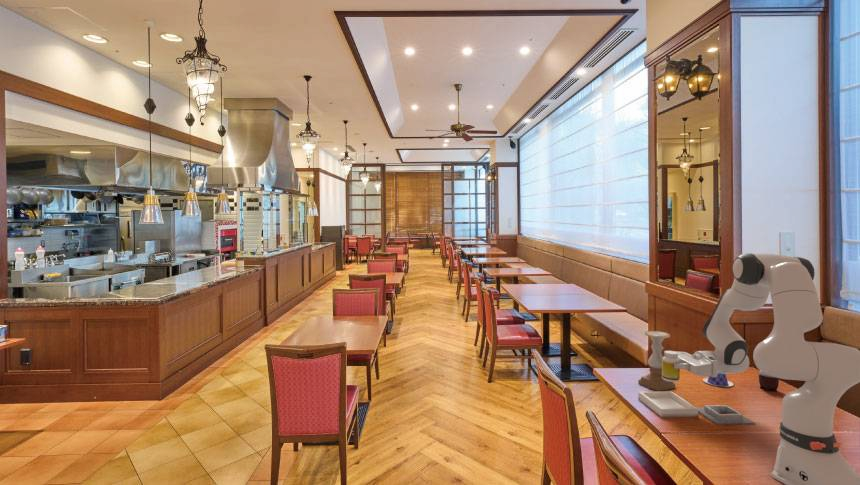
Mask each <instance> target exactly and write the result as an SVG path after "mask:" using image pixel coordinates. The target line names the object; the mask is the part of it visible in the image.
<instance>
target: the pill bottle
mask: <svg viewBox="0 0 860 485" xmlns="http://www.w3.org/2000/svg"><path fill="white" fill-rule="evenodd" d="M663 352H664V353H663V355H664V356H663V358H662V379H663V380H665V381H669V382H673V383H678V382H680V377H681V376H680V374H681V373H680V372H681V371H680V370H681V369H676V368H674V367H673V363H680V360H679V359H678V358H677V357H678V353H677V352H675V351H674V350H664V351H663Z"/></svg>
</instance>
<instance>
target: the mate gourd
mask: <svg viewBox="0 0 860 485" xmlns="http://www.w3.org/2000/svg"><path fill="white" fill-rule="evenodd" d="M758 383H759V385H760V386H759V389H762V390H765V392H766V393H767V392H770V391H771V392H775V393H777V392H778V389H779V388H778V387H779V383H780V378H777V377H773V376H769V375H765V374H763V373H762V372H761V371H759V374H758Z"/></svg>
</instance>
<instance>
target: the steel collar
mask: <svg viewBox="0 0 860 485" xmlns="http://www.w3.org/2000/svg"><path fill="white" fill-rule="evenodd" d="M697 408H698V414H700V415H701V416H703V417H705V418H706V419H707V420H709V421H710V422H712V423H714V424H715V425H716V426H720V425H721V426H723V425H725V426H733V425H734V426H735V425H741V426H742V425H743V426H747V425H752V426H753V425H754V426H755V425H756V422H754V421H753V420H751V419H750V418H748V417H746V416H744V414H743V413H740V412H739V411H737V410H736V409H734V408H732V407H731V406H729V405H728V404H727V405H724V404H723V405H722V404H721V405H720V404H718V405H717V404H714V405H713V404H712V405H707V404H706V405H704V407H697Z"/></svg>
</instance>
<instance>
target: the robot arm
mask: <svg viewBox="0 0 860 485" xmlns="http://www.w3.org/2000/svg"><path fill="white" fill-rule="evenodd" d="M732 274H733V275H732V276H733V278H734V280H733V283H732V284H731V286H730V288H728V289H726V290H725V291H724V292H723V293H722V294H721V296H720V298H719V299H718V302H717V304H716V305H715V307H714V309H713V311H712V314H711V315H710V317H708V319H707V320H706V322H705V323H704V324H703V326H702V335H703V336H704V338H706V340H708V341H709V342H710V343H711V345H713V346H714V348H715V349H714V350H696V351H694V353H693V354H691V353H688V352H686V351H675V352H677V353H678V357H677V358H678V359H679V360H680V363H673V367H674V368H676V369H680V370H685V371H687V372H688V373H689V372H690V373H691V374H693V375H695V376H699V377H700V376H702V377H709V376H711V377H717V375H718V373H722V374H726V375H728V374H729V375H730V374H731V375H732V374H738V373H742V372H745V371H746V370H749V367H750V358H749V356H748V352H749V344H748V343H747V342H746V340H745V339H744V338H743V337H742V336H741V335H740V334H739V333H738V332H737V331H736V330H735V329H734V328H733V327H732V325H731V323H730V319H731V316H732V315H733V313H734V311H735V309H736V310H739V311H743V312H747V311H748V312H753V311H757V310H760V309H762V308H763V307H764V305H766V303H767V301H768V298H769V295H770V299H771V304H772V310H773V320H774V323H773V327H772V330H771V331H770V333H769V334H768V336H766V338H765V339H764V340H762V341H760V342H758V343H757V345H756V347H754V349H753V354H752V355H753V356H752V358H753V362H754V365H755V366H756V368H757V369H758V370H759V372H762V373H763V374H765V375H769V376H773V377H777V378H779V379H782V380H792V381H803V382H804V384H803V385H802V386H801V387H799V388H797V389H795V390H792V391H789V392H788V393H786V394H785V395H784V396H783V398H782V409H781V410H782V412H781V413H782V414H781V417H782V418H781V421H780V423H779V436H780V437H781V438H780V442H779V444H778V447H777V450H776V457H775V462H774V463H775V464H774V466H773V470H772V471H771V477H772V478H773V479H775V480H777V481H778V482H779V483H780V482H781V483H782V484H783V485H860V475H859V473H858V471H857V470H856V468H853V467H852V466H851V465H850V463H849V462H848V461H847V459H846V458H845V457H844V456H843V455H842V454H841V452H840V449H839V448H843V446H842V445H843V443H842V442H837V439H836V438H837V437H836V436H835V434H834V418H835V410H836V407H837V404H838V402H839V401H840V399H841V397H842V396H843V395H844V394H845V393H846V391H847V390H849V389H850V388H852V387H854V386H856V385H857V384H860V350H859V349H858V348H856V347H853V346H849V345H844V344H841V343H840V344H839V343H832V342H820V341H819V342H817V341H816V342H815V341H807V340H805V336H804V335H805V333H807V332H810V331H812V330H814V329H816V328H818V327H820V325H821V324H822V322H823V320H824V319H823V318H824V315H823V312H822V306H821V303H820V300H819V299H820V298H819V296H818V295H819V294H818V291H817V288H816V285H815V283H814V278H815V268H814V265H813V264H812V262H811V261H810V260H809V259H808V258H804V257H800V256H788V255H783V254H781V255H780V254H774V253H752V252H751V253H749V252H748V253H742V254H739V255H738V256H737V257H736V258H734V261H733V264H732Z"/></svg>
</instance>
